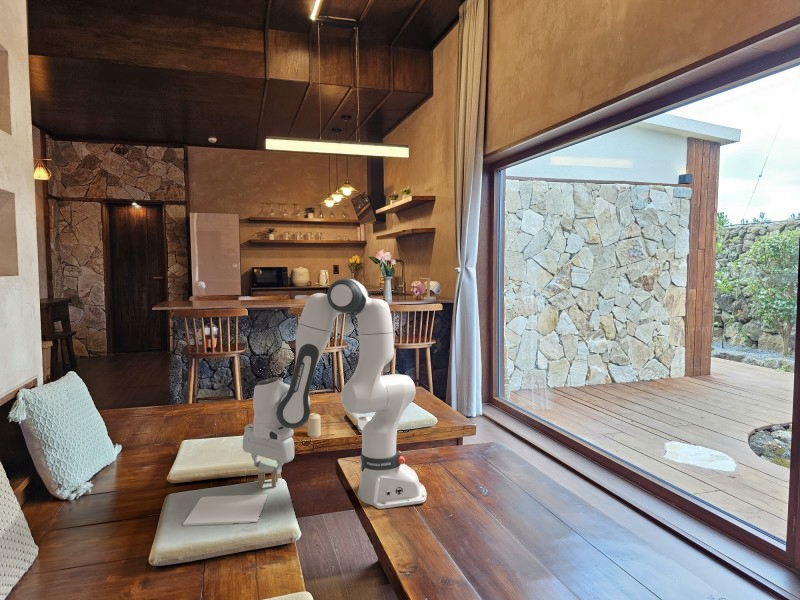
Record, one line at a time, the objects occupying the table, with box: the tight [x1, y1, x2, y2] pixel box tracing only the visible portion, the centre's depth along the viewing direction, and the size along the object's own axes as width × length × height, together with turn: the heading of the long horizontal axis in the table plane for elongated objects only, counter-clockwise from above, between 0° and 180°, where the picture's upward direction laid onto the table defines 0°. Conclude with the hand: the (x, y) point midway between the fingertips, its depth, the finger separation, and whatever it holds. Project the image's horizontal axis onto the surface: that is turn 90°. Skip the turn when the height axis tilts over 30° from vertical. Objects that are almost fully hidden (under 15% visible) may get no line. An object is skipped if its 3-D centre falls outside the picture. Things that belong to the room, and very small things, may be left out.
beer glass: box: [357, 415, 373, 431], centre depth 217 cm, size 7×7×15 cm
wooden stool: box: [257, 459, 279, 489], centre depth 160 cm, size 6×6×7 cm
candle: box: [306, 412, 322, 438], centre depth 205 cm, size 6×6×10 cm
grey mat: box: [182, 493, 269, 527], centre depth 143 cm, size 20×16×1 cm
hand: (267, 469), depth 160 cm, fingers open, 8 cm apart
